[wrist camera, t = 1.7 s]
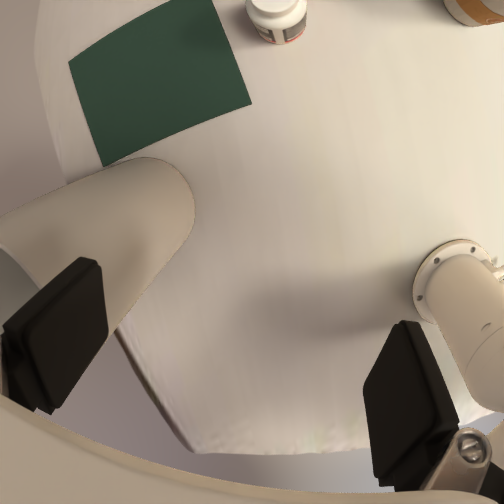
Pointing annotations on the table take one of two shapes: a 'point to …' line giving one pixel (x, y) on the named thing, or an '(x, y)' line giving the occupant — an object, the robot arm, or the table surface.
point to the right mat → (157, 77)
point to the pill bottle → (278, 19)
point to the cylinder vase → (97, 234)
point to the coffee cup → (476, 11)
